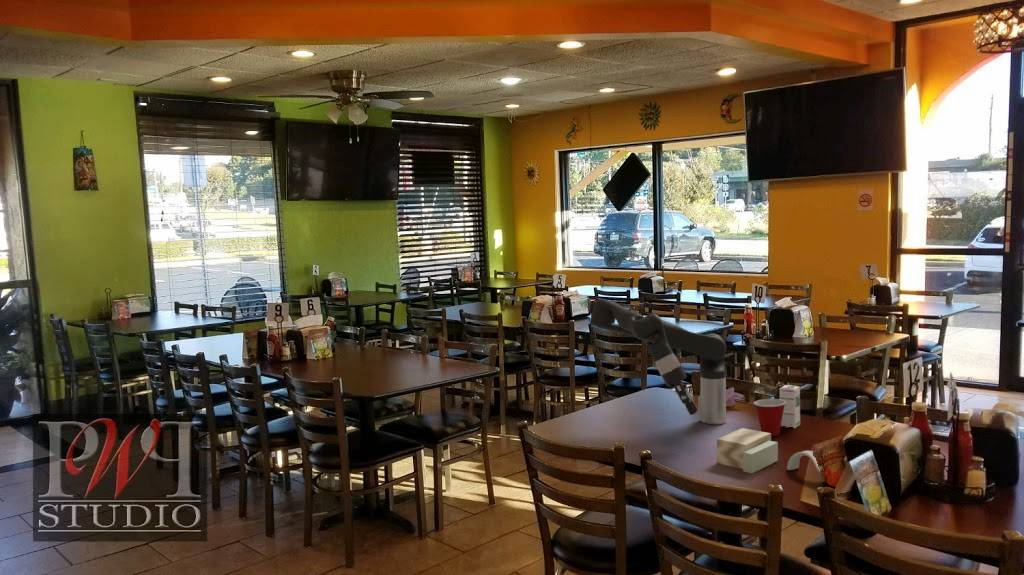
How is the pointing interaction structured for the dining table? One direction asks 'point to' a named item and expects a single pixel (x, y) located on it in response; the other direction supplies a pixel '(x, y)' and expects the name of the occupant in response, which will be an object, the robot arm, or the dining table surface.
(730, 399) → the lily
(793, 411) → the syrup box
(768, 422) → the plastic cup
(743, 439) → the birch block
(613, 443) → the dining table surface
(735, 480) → the dining table surface
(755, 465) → the sage board
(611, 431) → the dining table surface
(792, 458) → the white arch
